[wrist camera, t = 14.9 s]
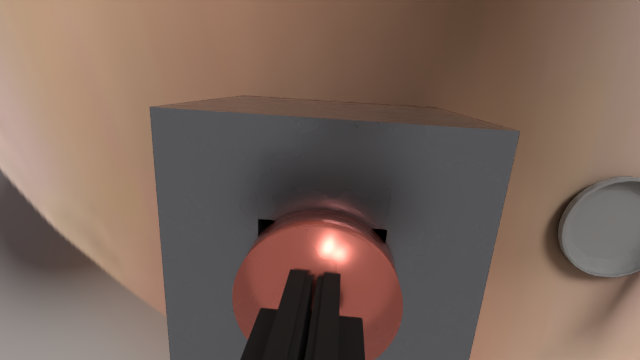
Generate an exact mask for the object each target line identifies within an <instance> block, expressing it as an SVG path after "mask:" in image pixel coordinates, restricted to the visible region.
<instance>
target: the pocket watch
mask: <svg viewBox="0 0 640 360" xmlns="http://www.w3.org/2000/svg"><path fill="white" fill-rule="evenodd" d="M558 239H559V244H560V248H561V250H562V251H563V253H564V255H565V256H566V258H567V259H568V260H569V261H570V262H571V263H572V264H573V265H574V266H576V267H577V268H579V269H580V270H582V271H583V272H586V273H589V274H591V275H594V276H600V277H621V276H626V275H630V274H633V273H635V272H638V271H640V178H637V177H630V176H626V177H613V178H610V179H606V180H603V181H599V182H597V183H595V184H593V185H591V186H589V187H588V188H586V189H584V190H583V191H582V192H580V193H579V194H578V195H577V196H576V197H575V198H574V199H573V200H572V201H571V202H570V203H569V204H568V206H567V208H566V209H565V211H564V212H563V214H562V217H561V220H560V222H559V229H558Z"/></svg>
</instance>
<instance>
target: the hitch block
mask: <svg viewBox="0 0 640 360" xmlns="http://www.w3.org/2000/svg"><path fill="white" fill-rule="evenodd" d="M150 117H151V129H152V141H153V154H154V166H155V178H156V190H157V202H158V215H159V227H160V239H161V251H162V263H163V276H164V288H165V300H166V312H167V324H168V335H169V348H170V359H171V360H240V359H241V356H242V354H243V351H244V349H245V346H246V344H247V341H248V340H247V339H246V337H245V336H244V335H243V333H242V331H241V329H240V327H239V325H238V323H237V320H236V318H235V314H234V310H233V302H232V292H233V285H234V280H235V277H236V275H237V272H238V270H239V268H240V266H241V264H242V263H243V261H244V259H245V257H246V256H247V254H248V252H249V251H250V249H251V247H252V246H253V244H254V242H255V240H256V239H257V238H258V236H259V235H260V234H261V232H263V231H264V230H265V229H266V228H267V227H268V226H269V225H270V224H272V223H273V222H274V221H276V220H278V219H280V218H281V217H283V216H286V215H288V214H291V213H294V212H298V211H302V210H309V209H326V210H333V211H338V212H341V213H345V214H347V215H350V216H352V217H355V218H357V219H358V220H360V221H362V222H364V223H365V224H366V225H368V226H369V227H370V228H372V229H373V230H374V231H375V232H376V233H377V234H378V235H379V236H380V237H381V239H382V240H383V241H384V243H385V244H386V246H387V247H388V249H389V251H390V253H391V256H392V258H393V261H394V265H395V269H396V272H397V276H398V280H399V284H400V288H401V292H402V298H403V315H402V320H401V324H400V327H399V329H398V332H397V334H396V336H395V338H394V339H393V341H392V343H391V344H390V345H389V346H388V348H387V349H386V350H385V351H384V352H383V353H382V354H381V355H380V356H379V357H377V358H376V359H375V360H469V358H470V353H471V349H472V344H473V340H474V335H475V331H476V326H477V322H478V317H479V313H480V308H481V304H482V299H483V295H484V290H485V286H486V281H487V277H488V272H489V268H490V263H491V259H492V254H493V250H494V245H495V241H496V236H497V232H498V227H499V223H500V218H501V214H502V209H503V205H504V200H505V196H506V191H507V187H508V182H509V178H510V174H511V169H512V165H513V160H514V156H515V151H516V147H517V142H518V138H519V133H520V131H517V130H513V129H510V128H506V127H503V126H499V125H496V124H492V123H489V122H485V121H481V120H478V119H474V118H471V117H467V116H464V115H460V114H457V113H453V112H450V111H446V110H442V109H439V108H431V107H415V106H400V105H384V104H368V103H352V102H336V101H320V100H304V99H289V98H273V97H257V96H235V97H227V98H219V99H210V100H202V101H194V102H186V103H177V104H169V105H161V106H153V107H150Z"/></svg>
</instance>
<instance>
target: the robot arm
mask: <svg viewBox="0 0 640 360" xmlns="http://www.w3.org/2000/svg"><path fill="white" fill-rule="evenodd" d="M340 281H341V274H338V273H327V272H324V277H322V276H318V277H317V283H316V290H315V296H314V303H313V309H312V316H311V299H312V282H313V276H311V275H307V271H306V270H295V269H290V272H289V275H288V278H287V281H286V285H285V288H284V291H283V294H282V297H281V301H280V304H279V307H278V309H270V308H261V309H260V311H259V313H258V315H257V318H256V320H255V323H254V326H253V328H252V331H251V333H250V336H249V338H248V341H247V344H246V346H245V349H244V351H243V354H242V356H241V359H240V360H365V348H364V333H363V319H362V318H360V317H350V316H340V315H339V309H340ZM310 316H311V322H310Z"/></svg>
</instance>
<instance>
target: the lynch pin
mask: <svg viewBox="0 0 640 360" xmlns="http://www.w3.org/2000/svg"><path fill="white" fill-rule="evenodd" d="M290 269H295V270H306V271H307V275H311V276H313V282H312V299H311V316H312V309H313V303H314V296H315V290H316V283H317V277H318V276H322V277H324V272H327V273H338V274H341V281H340V309H339V315H340V316H350V317H360V318H362V319H363V333H364V348H365V360H375V359H376V358H377V357H379V356H380V355H381V354H382V353H383V352H384V351H385V350H386V349H387V348H388V346H389V345H390V344H391V343H392V341H393V339H394V338H395V336H396V334H397V332H398V329H399V327H400V324H401V320H402V315H403V298H402V292H401V288H400V284H399V280H398V276H397V272H396V269H395V265H394V261H393V258H392V256H391V253H390V251H389V249H388V247H387V246H386V244H385V243H384V241H383V240H382V239H381V237H380V236H379V235H378V234H377V233H376V232H375V231H374V230H373V229H372V228H370V227H369V226H368V225H366V224H365V223H364V222H362V221H360V220H358V219H357V218H355V217H352V216H350V215H347V214H345V213H341V212H338V211H333V210H326V209H309V210H302V211H298V212H294V213H291V214H288V215H286V216H283V217H281V218H280V219H278V220H276V221H274V222H273V223H272V224H270V225H269V226H268V227H267V228H266V229H265V230H264V231H263V232H261V234H260V235H259V236H258V238H257V239H256V240H255V242H254V244H253V246H252V247H251V249H250V251H249V252H248V254H247V256H246V257H245V259H244V261H243V263H242V264H241V266H240V268H239V270H238V272H237V275H236V277H235V280H234V285H233V292H232V302H233V310H234V314H235V318H236V320H237V323H238V325H239V327H240V329H241V331H242V333H243V335H244V336H245V337H246V339H247V340H248V338H249V336H250V333H251V331H252V328H253V326H254V323H255V320H256V318H257V315H258V313H259V311H260V309H261V308H270V309H278V307H279V304H280V301H281V297H282V294H283V291H284V288H285V285H286V281H287V278H288V275H289V272H290ZM311 316H310V322H311Z"/></svg>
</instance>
